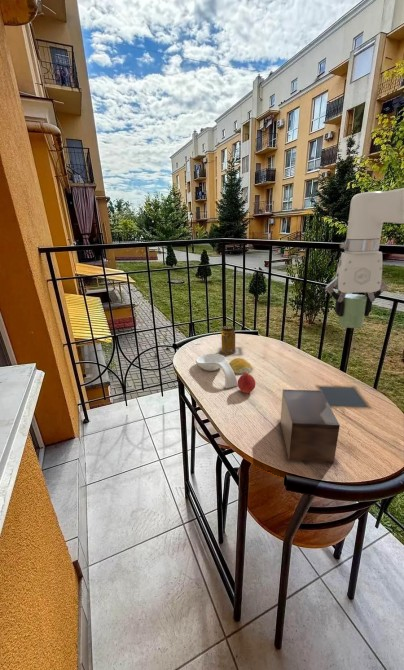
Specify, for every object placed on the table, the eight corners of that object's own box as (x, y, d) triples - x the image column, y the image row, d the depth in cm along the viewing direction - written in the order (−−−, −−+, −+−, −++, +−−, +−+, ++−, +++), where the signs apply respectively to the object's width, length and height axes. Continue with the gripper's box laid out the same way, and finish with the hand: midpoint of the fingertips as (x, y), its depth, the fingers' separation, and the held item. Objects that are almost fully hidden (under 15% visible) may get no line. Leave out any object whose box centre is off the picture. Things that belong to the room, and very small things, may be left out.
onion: (234, 392, 94) (233, 371, 92) (246, 386, 97) (246, 366, 95) (246, 400, 90) (246, 378, 87) (258, 394, 93) (259, 372, 90)
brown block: (317, 424, 77) (321, 390, 73) (333, 464, 64) (339, 425, 60) (280, 423, 79) (282, 389, 75) (288, 461, 66) (292, 423, 62)
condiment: (220, 349, 129) (220, 324, 124) (239, 349, 128) (239, 324, 124) (221, 356, 122) (220, 330, 118) (240, 355, 121) (241, 329, 117)
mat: (353, 389, 93) (353, 387, 93) (367, 408, 83) (368, 407, 83) (319, 388, 95) (319, 386, 95) (328, 407, 85) (329, 405, 84)
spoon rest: (191, 364, 115) (190, 348, 113) (217, 359, 119) (216, 343, 117) (217, 392, 95) (217, 373, 92) (247, 384, 99) (247, 366, 96)
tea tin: (357, 321, 80) (361, 293, 78) (366, 328, 75) (371, 298, 72) (335, 321, 81) (338, 294, 78) (343, 328, 76) (347, 299, 73)
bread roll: (243, 362, 115) (244, 354, 114) (253, 372, 107) (254, 363, 105) (225, 366, 113) (225, 357, 111) (233, 376, 105) (233, 366, 103)
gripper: (331, 249, 68) (323, 319, 74) (407, 245, 66) (392, 318, 73) (321, 247, 75) (315, 311, 81) (390, 244, 73) (378, 310, 80)
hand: (351, 314), depth 77 cm, fingers closed on tea tin, 6 cm apart
